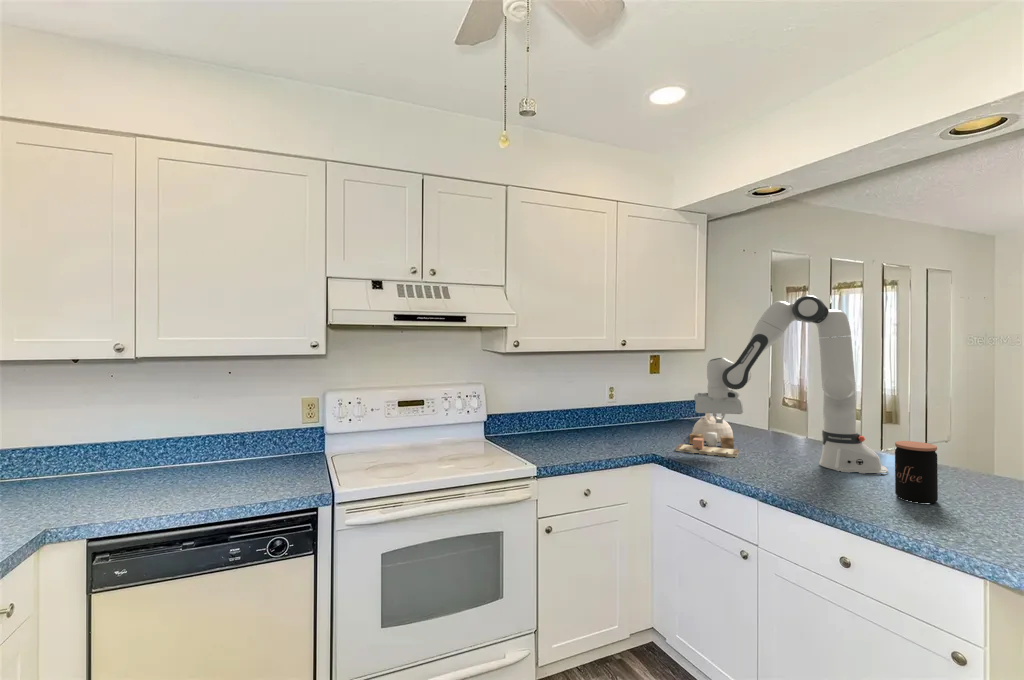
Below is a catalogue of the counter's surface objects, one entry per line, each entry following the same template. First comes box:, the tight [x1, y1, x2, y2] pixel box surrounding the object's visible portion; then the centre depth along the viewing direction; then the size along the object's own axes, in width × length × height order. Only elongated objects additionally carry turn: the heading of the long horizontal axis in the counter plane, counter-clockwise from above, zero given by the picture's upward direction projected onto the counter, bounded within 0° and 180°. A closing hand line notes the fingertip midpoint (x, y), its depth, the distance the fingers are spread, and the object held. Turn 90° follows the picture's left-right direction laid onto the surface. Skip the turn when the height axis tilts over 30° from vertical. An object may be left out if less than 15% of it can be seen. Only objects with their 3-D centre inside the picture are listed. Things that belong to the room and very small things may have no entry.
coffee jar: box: [894, 440, 939, 504], centre depth 157 cm, size 11×11×18 cm
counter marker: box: [693, 438, 705, 449], centre depth 224 cm, size 4×7×4 cm, turn 150°
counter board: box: [675, 443, 740, 459], centre depth 224 cm, size 26×10×2 cm, turn 60°
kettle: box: [691, 413, 734, 443], centre depth 253 cm, size 20×21×18 cm
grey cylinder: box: [705, 432, 718, 447], centre depth 237 cm, size 5×5×6 cm
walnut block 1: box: [689, 432, 703, 445], centre depth 240 cm, size 5×5×5 cm
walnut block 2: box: [720, 436, 735, 449], centre depth 233 cm, size 5×5×5 cm
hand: (719, 423), depth 221 cm, fingers closed
